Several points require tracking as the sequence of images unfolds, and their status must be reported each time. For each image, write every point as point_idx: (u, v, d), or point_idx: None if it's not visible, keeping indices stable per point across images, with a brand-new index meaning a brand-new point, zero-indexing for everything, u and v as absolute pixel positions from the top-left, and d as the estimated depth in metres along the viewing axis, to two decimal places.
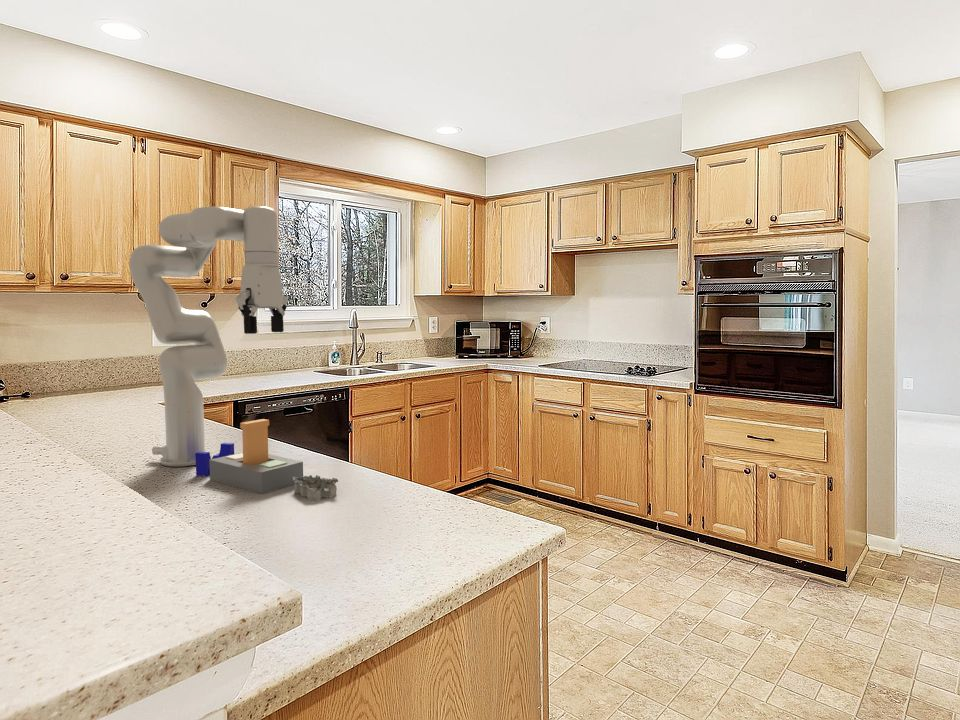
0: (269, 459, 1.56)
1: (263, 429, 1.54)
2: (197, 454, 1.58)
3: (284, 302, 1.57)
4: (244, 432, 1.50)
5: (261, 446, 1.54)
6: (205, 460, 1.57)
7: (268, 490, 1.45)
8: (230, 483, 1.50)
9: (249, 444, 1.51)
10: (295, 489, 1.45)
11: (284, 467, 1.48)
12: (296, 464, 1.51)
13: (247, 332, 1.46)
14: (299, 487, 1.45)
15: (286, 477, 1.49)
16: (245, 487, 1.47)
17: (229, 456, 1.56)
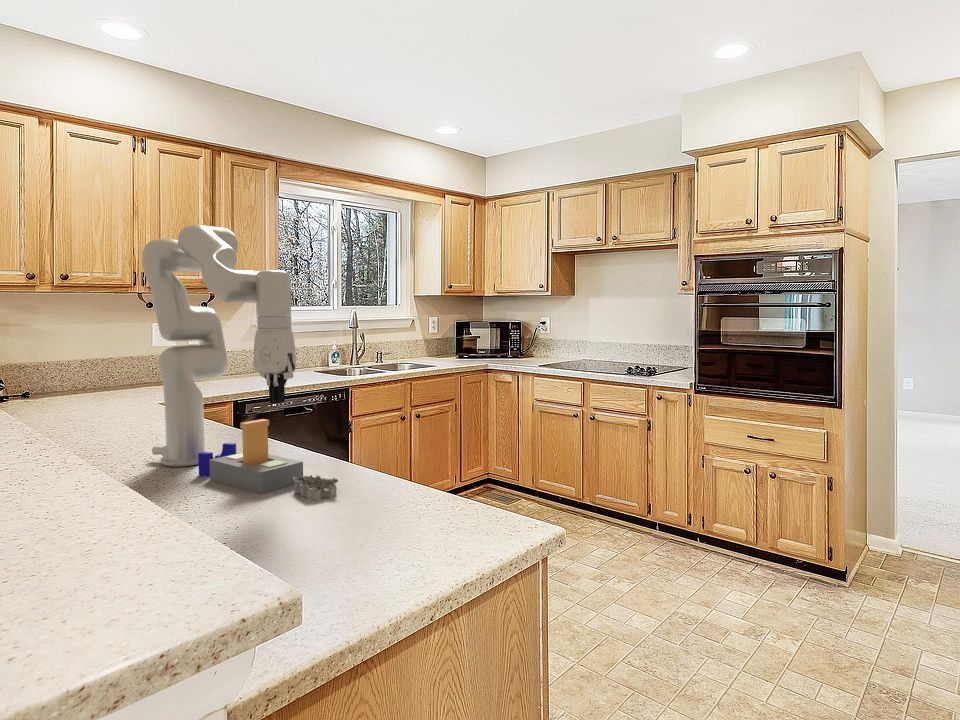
0: (269, 459, 1.56)
1: (263, 429, 1.54)
2: (200, 454, 1.58)
3: None
4: (244, 432, 1.50)
5: (261, 446, 1.54)
6: (208, 460, 1.57)
7: (268, 490, 1.45)
8: (230, 483, 1.50)
9: (249, 444, 1.51)
10: (295, 489, 1.45)
11: (284, 467, 1.48)
12: (296, 464, 1.51)
13: (277, 402, 1.47)
14: (299, 487, 1.45)
15: (286, 477, 1.49)
16: (245, 487, 1.47)
17: (229, 456, 1.56)
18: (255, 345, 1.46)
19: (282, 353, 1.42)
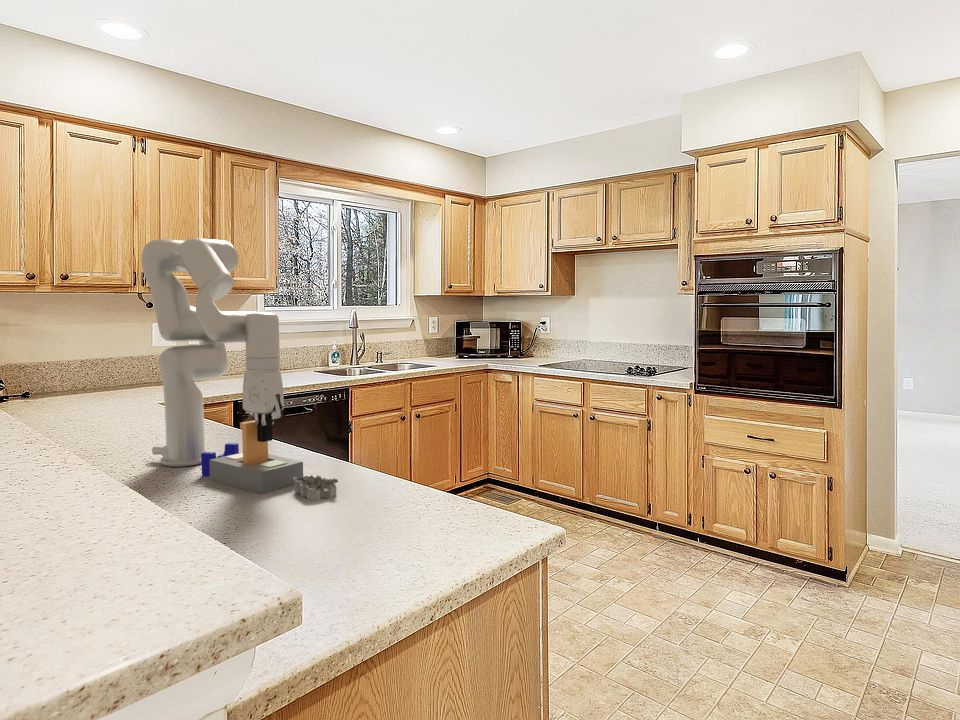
0: (269, 459, 1.56)
1: None
2: (203, 454, 1.57)
3: None
4: (244, 432, 1.51)
5: (261, 446, 1.54)
6: None
7: (268, 490, 1.45)
8: (230, 483, 1.50)
9: (248, 444, 1.51)
10: (295, 489, 1.45)
11: (284, 467, 1.48)
12: (296, 464, 1.51)
13: (264, 440, 1.50)
14: (299, 487, 1.45)
15: (286, 477, 1.49)
16: (245, 487, 1.47)
17: (229, 456, 1.56)
18: (244, 385, 1.50)
19: (270, 394, 1.46)
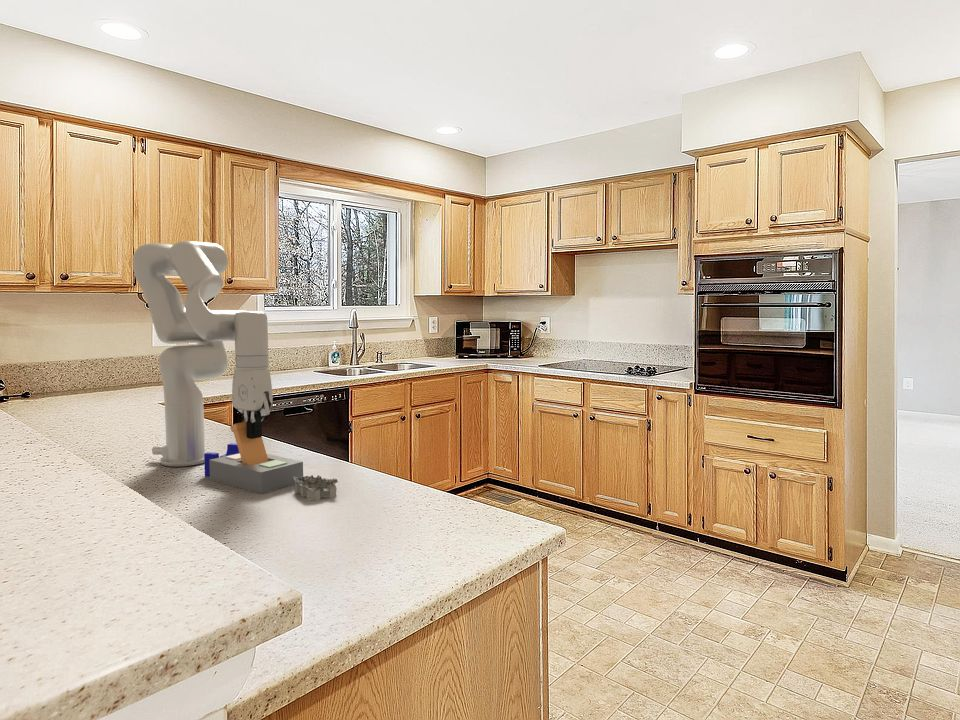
0: (269, 459, 1.56)
1: None
2: (206, 455, 1.57)
3: None
4: (236, 433, 1.52)
5: (257, 445, 1.55)
6: None
7: (268, 490, 1.45)
8: (230, 483, 1.50)
9: (243, 444, 1.52)
10: (296, 489, 1.45)
11: (284, 467, 1.48)
12: (296, 464, 1.51)
13: (254, 437, 1.52)
14: (300, 487, 1.45)
15: (286, 477, 1.49)
16: (245, 487, 1.47)
17: (229, 456, 1.56)
18: (233, 382, 1.52)
19: (259, 391, 1.48)
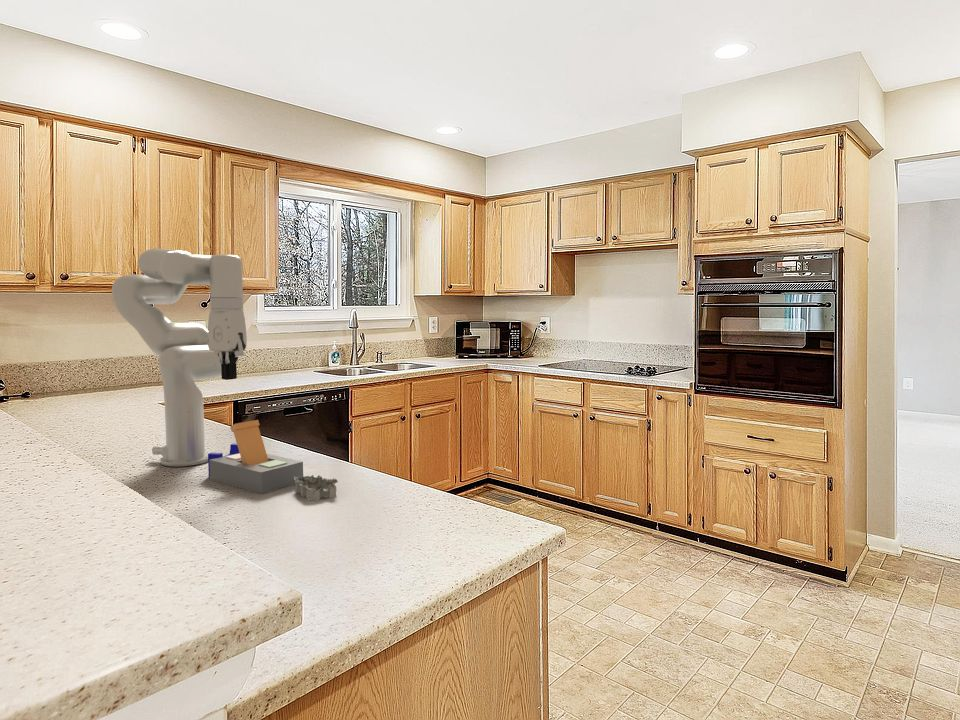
0: (269, 459, 1.56)
1: (254, 429, 1.56)
2: (210, 455, 1.57)
3: None
4: (236, 433, 1.52)
5: (257, 445, 1.55)
6: None
7: (268, 490, 1.45)
8: (230, 483, 1.50)
9: (243, 444, 1.52)
10: (296, 489, 1.45)
11: (284, 467, 1.48)
12: (296, 464, 1.51)
13: (228, 378, 1.56)
14: (300, 487, 1.45)
15: (286, 477, 1.49)
16: (245, 487, 1.47)
17: (229, 456, 1.56)
18: (209, 325, 1.56)
19: (233, 332, 1.52)
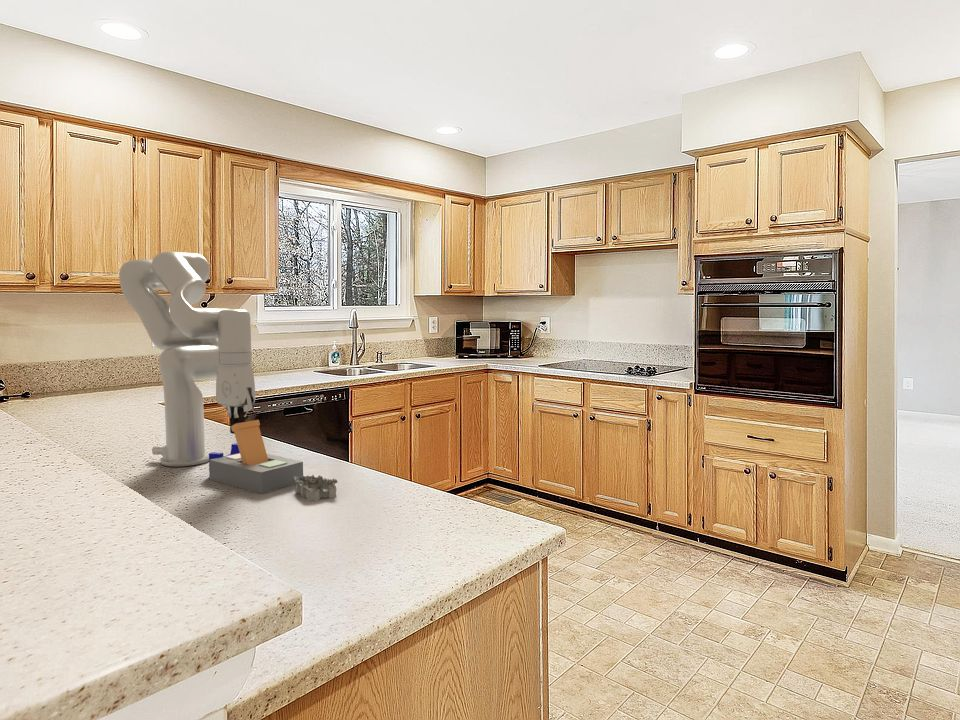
0: (269, 459, 1.56)
1: (254, 428, 1.56)
2: (211, 455, 1.57)
3: None
4: (236, 433, 1.52)
5: (257, 445, 1.55)
6: None
7: (268, 490, 1.45)
8: (230, 483, 1.50)
9: (243, 444, 1.52)
10: (296, 489, 1.45)
11: (284, 467, 1.48)
12: (296, 464, 1.51)
13: None
14: (300, 487, 1.45)
15: (286, 477, 1.49)
16: (245, 487, 1.47)
17: (229, 456, 1.56)
18: (217, 379, 1.56)
19: (241, 388, 1.52)
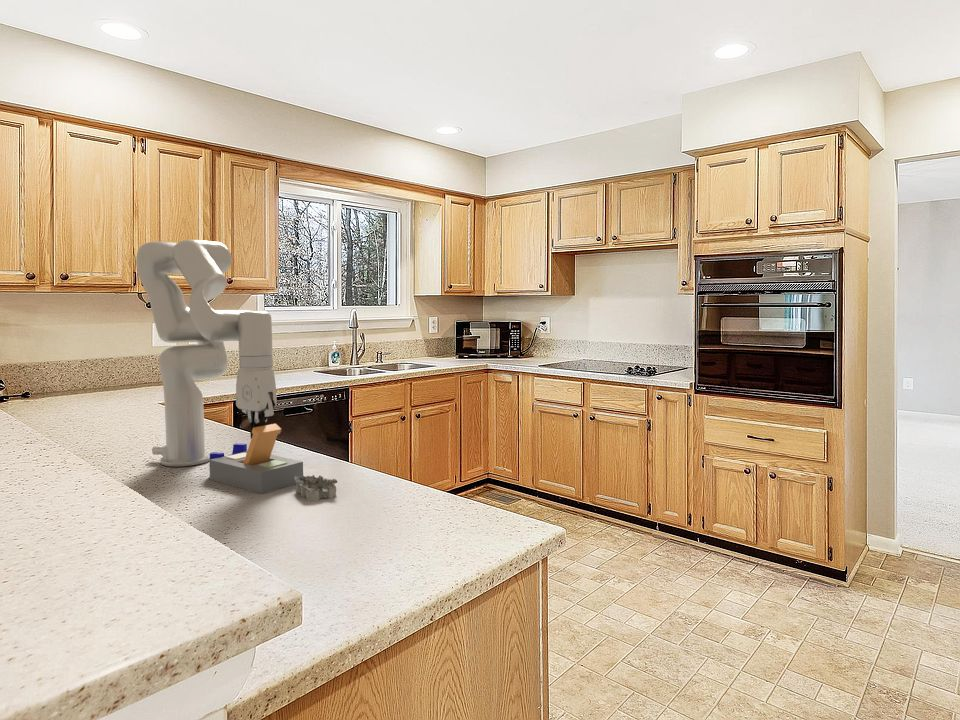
0: (269, 459, 1.56)
1: (272, 436, 1.52)
2: (211, 455, 1.57)
3: None
4: (254, 438, 1.48)
5: (266, 450, 1.53)
6: None
7: (268, 490, 1.45)
8: (230, 483, 1.50)
9: (254, 449, 1.50)
10: (296, 489, 1.45)
11: (284, 467, 1.48)
12: (296, 464, 1.51)
13: None
14: (300, 487, 1.45)
15: (286, 477, 1.49)
16: (245, 487, 1.47)
17: (229, 456, 1.56)
18: (237, 383, 1.51)
19: (263, 392, 1.47)
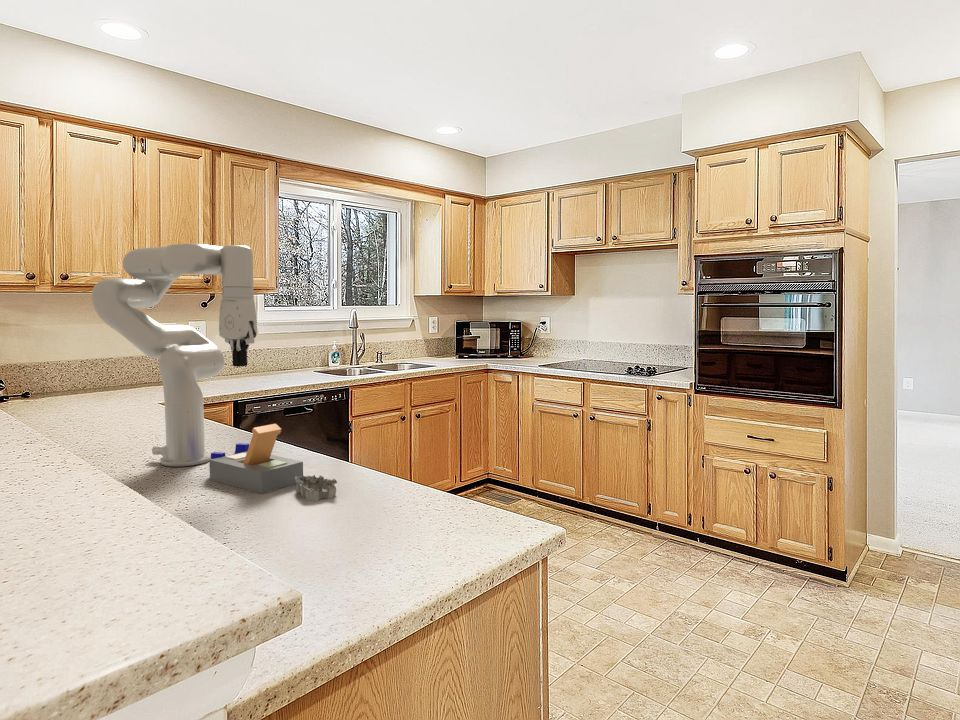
0: (269, 459, 1.56)
1: (272, 436, 1.52)
2: (212, 454, 1.58)
3: None
4: (254, 438, 1.48)
5: (266, 450, 1.53)
6: None
7: (268, 490, 1.45)
8: (230, 483, 1.50)
9: (254, 450, 1.50)
10: (297, 489, 1.45)
11: (284, 467, 1.48)
12: (296, 464, 1.51)
13: (239, 365, 1.61)
14: (300, 487, 1.45)
15: (286, 477, 1.49)
16: (245, 487, 1.47)
17: (229, 456, 1.56)
18: (220, 313, 1.61)
19: (244, 320, 1.57)
